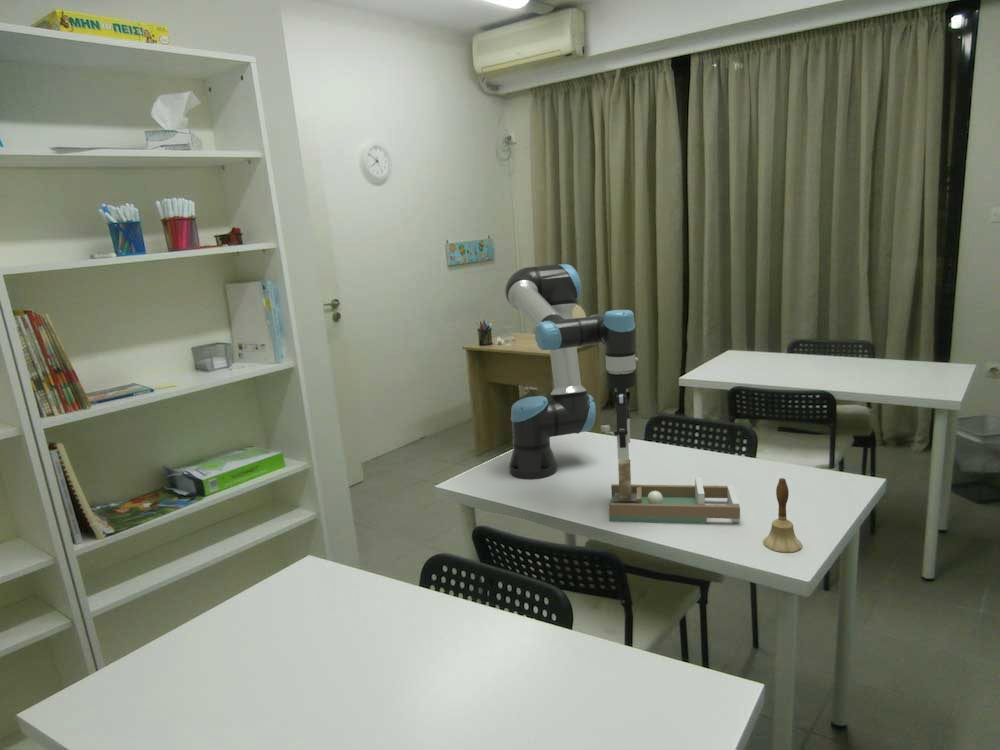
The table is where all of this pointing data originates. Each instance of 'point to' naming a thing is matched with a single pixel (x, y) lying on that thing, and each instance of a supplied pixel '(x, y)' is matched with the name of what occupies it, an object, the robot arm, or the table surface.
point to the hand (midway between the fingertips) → (624, 450)
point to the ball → (655, 497)
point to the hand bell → (782, 525)
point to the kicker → (626, 485)
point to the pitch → (677, 504)
